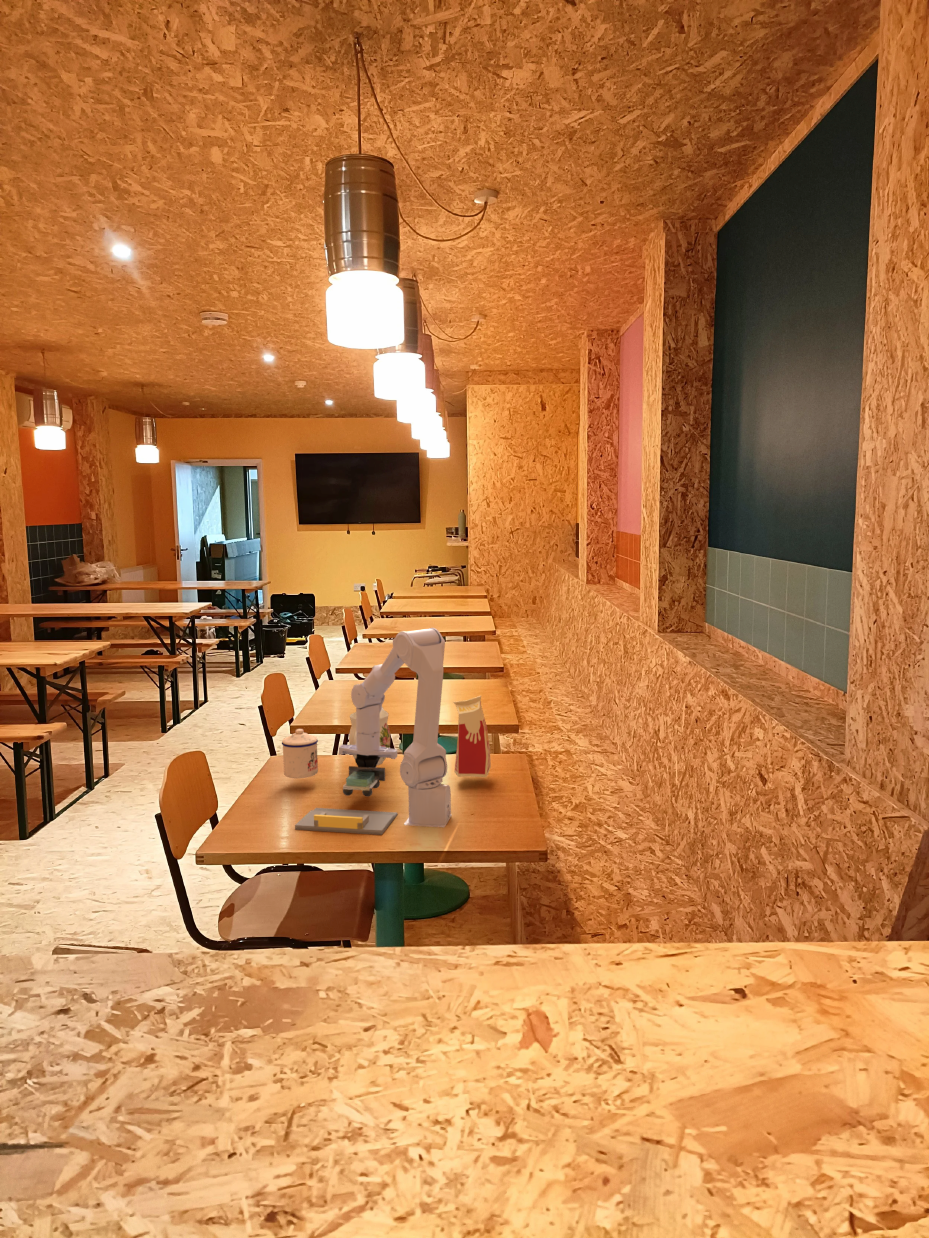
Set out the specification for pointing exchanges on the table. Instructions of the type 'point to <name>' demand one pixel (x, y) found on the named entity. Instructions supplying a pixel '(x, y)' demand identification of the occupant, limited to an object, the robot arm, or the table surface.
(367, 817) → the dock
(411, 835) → the table surface
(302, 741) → the teacup with lid
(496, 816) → the table surface
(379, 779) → the toy cart
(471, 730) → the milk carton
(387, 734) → the pitcher
